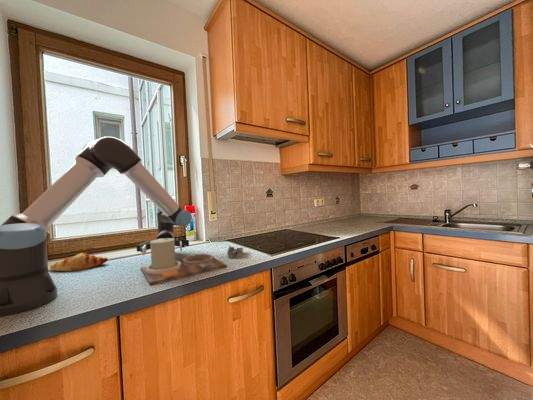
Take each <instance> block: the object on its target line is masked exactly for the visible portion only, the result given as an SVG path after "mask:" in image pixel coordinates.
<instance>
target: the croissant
mask: <svg viewBox="0 0 533 400" xmlns="http://www.w3.org/2000/svg"><path fill="white" fill-rule="evenodd" d="M108 260H109V259H108V257H103V256H95V255H93V254H89V253H88V252H80V253H77V254H76V255H74V256H70V257H65V258H64V259H62V260H60V261H56V262H54V263H53V264H50V266H49V269H50V270H52V271H56V272H73V271H80V270H85V269H89V268H95V267H99V266H102V265H104V264H105V263H107V262H108Z"/></svg>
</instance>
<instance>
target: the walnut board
mask: <svg viewBox="0 0 533 400" xmlns="http://www.w3.org/2000/svg"><path fill="white" fill-rule="evenodd" d="M175 260H176V259H175ZM176 261H180V262H181V267H180V268H179V269H178V270H177V271H178V275H176V276H171V277H167V278H164V277H163V276H162V274H149V273H147V272H146V267H147V266H148V265H146V266H141V267H140V271H141V273H142V275H143V276H144V278H145V279H146V281H147V283H148V284H149V286H153V285H157V284H161V283H165V282H170V281H174V280H179V279H182V278H186V277H191V276H195V275H198V274H202V273H207V272H211V271H215V270H220V269H222V268H223V269H224V268H226V267H227V264H226V263H224V262H222V261H220V260H219V259H217V258H215V257H214V255H212V254H210V253H209V254H207V253H199V254H198V253H196V254H193V255H188V256H186V257H184V258H182V259H177V260H176ZM151 269H152V268H151Z"/></svg>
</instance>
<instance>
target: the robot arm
mask: <svg viewBox="0 0 533 400" xmlns="http://www.w3.org/2000/svg"><path fill="white" fill-rule="evenodd" d="M73 159H74V163H73V165H71V166H70V167H69V168H68V169H67V170H66V171H65V172H64V173H63V174H62V175H61V176H60V177H58V179H57V180H55V182H54V183H52V184H51V186H49V188H47V189H46V190H45V191H44V192H43V193H42V194H41V195H39V196H38V198H37V199H36V200H34V201H33V202H32V204H31V203H30V205H29V206H28V207H27V208H26V209H25V210H23V212H22V213H16V214H11V215H10V216H9V217H8V218H7V219H6V220H5V221H4V222H2V224H0V317H2V316H9V315H13V314H14V315H15V314H17V313H22V312H25V311H29V310H32V309H35V308H37V307H38V308H39V307H40V306H43V305H45V304H47V303H49V302H51V301H53V300H54V299H55V298H57V297H58V287H57V285H56V284H55V282H54V280H53V279H52V276H51V275H50V273H49V265H48V252H47V251H48V248H47V237H48V236H49V235H50V234H51V229H50V227H51V226H52V225H53V224H54V223H55V221H57V219H58V218H60V217H61V215H62V214H64V213H65V211H66V210H67V209H68V208H69V207H70V206H71V205H72V204H74V203H75V201H76V200H77V199H78V197H80V196H81V195H82V194H83V192H84V191H85V190H86V189H88V188H89V186H91V184H92V183H93V182H94V181H95V180H96V179H97V178H103V177H105V176H106V175H107V174H108V173H109V172H110V171H111V170H112V168H114V169H115V170H116V171H117V172H119V174H120V175H125V176H126V177H127V178H128V179H129V180H130V181H131V182H132V183H133V184H134V185H135V186H136V187H137V188H138V189H139V190H140V192H142V193H143V194H144V195H145V197H147V199H149V201H151V202H152V203H153V204H154V205H155V206H156V218H157V220H156V221H157V222H156V223H157V236H156V239H163V238H173V239H175V228H174V226H175V227H177V226H178V227H187V226H188V225H190V224H191V223H192V219H193V216H192V213H191V211H188V210H186V209H184V208H182V207H181V206H180V205H179V204H178V203H177V201H176V200H174V198H173V196H172V195H170V194H169V193H168V191H167V190H166V189H165V188H164V187H163V186H162V185H161V184H160V182H158V180H157V179H156V178H155V177H154V176H153V175H152V174H151V173H150V171H149V170H148V169H147V168H146V167H145V166H144V165H143V163H142V159H141V158H140V156H139V155H138V154H137V153H136V152H135V151H134V150H133V148H131V147H130V146H129V145H128V144H127V143H126V142H124V141H123V140H122V139H119V138H117V137H115V136H103V137H102V136H101V137H100V138H98V139H95V140H93V141H89V142H88V143H86V144H85V145H83V147H82V148H81V151H80V152H78V154H77V155H76V156H75V157H74V158H73ZM150 241H152V240H150V239H148V240H147V241H144V242H141V243H140V244H137V245H135V246H136V252H137V253H138V252H140V253H141V255H142V256H145V255H146V253H147V251H149V250H151V245H150ZM189 246H190V242H189V239H185V238H181V237H177V238H176V239H175V247H179V251H180V252H183V248H186V247H189Z"/></svg>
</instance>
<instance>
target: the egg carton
mask: <svg viewBox="0 0 533 400" xmlns="http://www.w3.org/2000/svg"><path fill="white" fill-rule="evenodd" d="M243 251H244V247H236V248H235V247H234V246H231V245H229V246H228V249H227V253H226V254H227V258H228V259H234V258H237V259H240V258H243V254H244V252H243Z"/></svg>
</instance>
